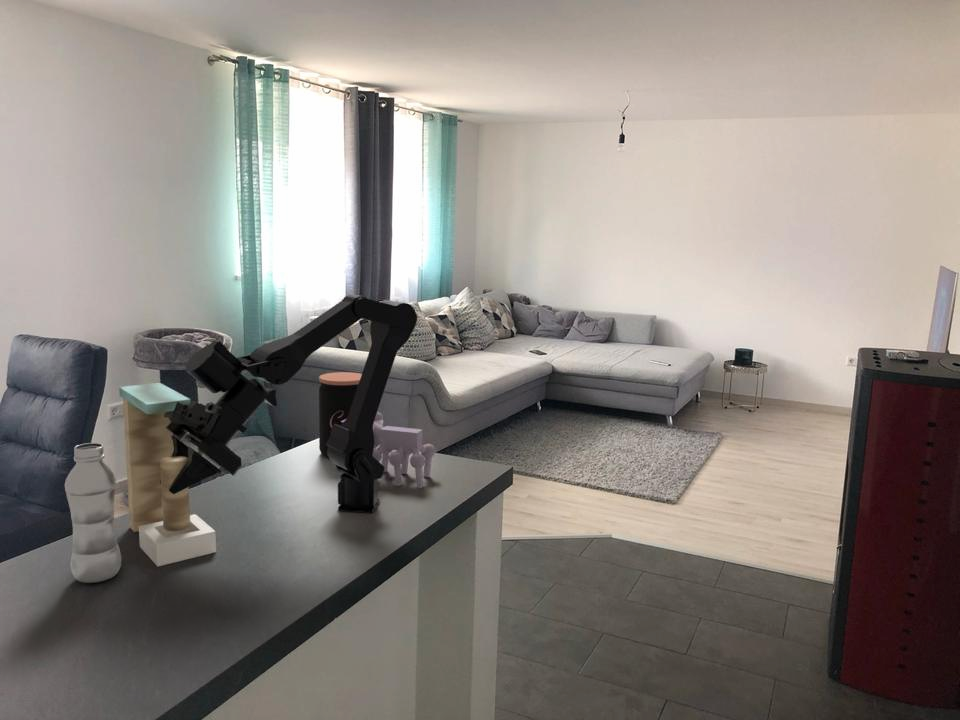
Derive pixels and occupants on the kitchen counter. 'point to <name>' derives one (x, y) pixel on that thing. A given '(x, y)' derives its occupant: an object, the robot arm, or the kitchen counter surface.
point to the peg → (174, 495)
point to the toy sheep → (402, 450)
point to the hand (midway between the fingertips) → (166, 488)
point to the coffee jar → (335, 402)
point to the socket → (177, 541)
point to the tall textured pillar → (147, 447)
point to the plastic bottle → (92, 516)
